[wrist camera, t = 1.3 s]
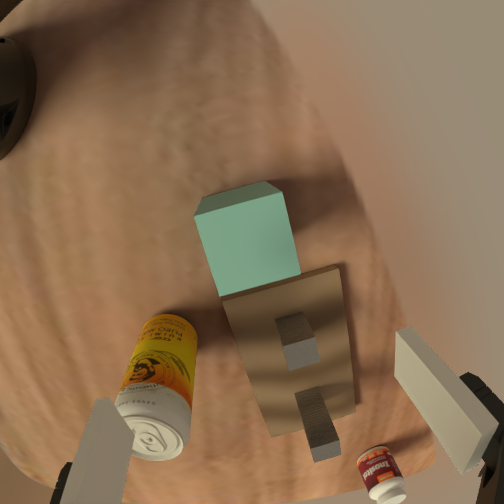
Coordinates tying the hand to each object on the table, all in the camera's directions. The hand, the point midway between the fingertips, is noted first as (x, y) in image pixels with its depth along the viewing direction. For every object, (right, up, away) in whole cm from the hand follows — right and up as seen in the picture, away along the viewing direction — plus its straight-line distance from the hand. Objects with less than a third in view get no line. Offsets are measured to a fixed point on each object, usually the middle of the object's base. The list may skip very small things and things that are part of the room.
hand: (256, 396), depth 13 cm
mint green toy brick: (-1, +9, +17) cm, 20 cm away
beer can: (-9, -3, +21) cm, 23 cm away
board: (+5, -7, +23) cm, 25 cm away
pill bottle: (+21, -29, +32) cm, 48 cm away
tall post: (+7, -12, +23) cm, 27 cm away
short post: (+4, -2, +20) cm, 20 cm away
